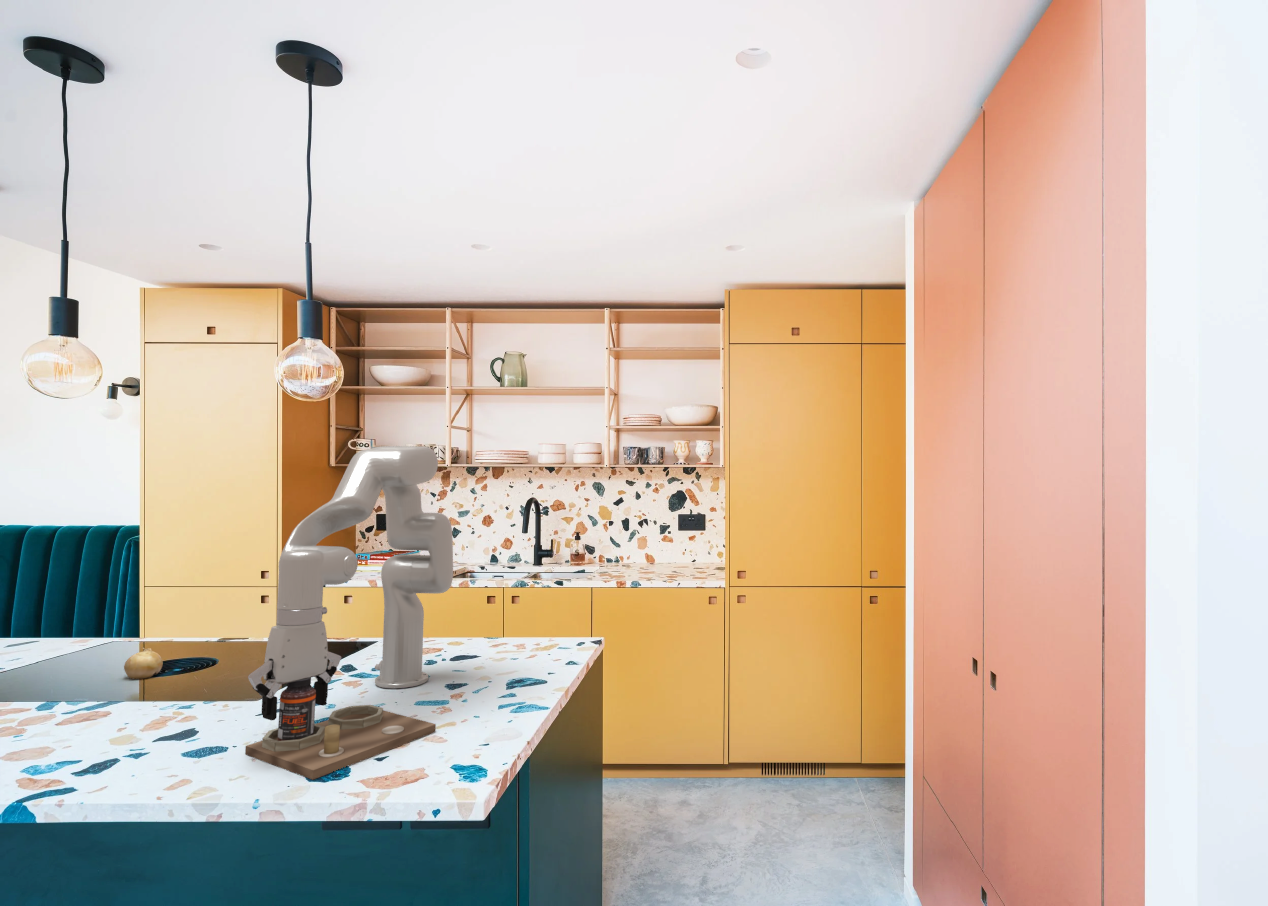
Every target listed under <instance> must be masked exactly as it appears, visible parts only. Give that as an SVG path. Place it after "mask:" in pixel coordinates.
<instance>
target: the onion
mask: <svg viewBox="0 0 1268 906" xmlns="http://www.w3.org/2000/svg"><path fill="white" fill-rule="evenodd" d="M141 648H142V650H143V651H139V652H136V653H134V654H133V655H130V657H129V658H128V659H126V661H125V662H124V665H123V670H124V673H125V674H126V675H127V678H129V680H141V679H150V678H151V677H153V676H154V675H155V676H156V675H157V674H159V673H160V671H161V670H162V668H163V664H164V663H163V662H164V660H163V658H162V657H161V655H160V654H159V653H158V652H155V651H153V650H152V648H151V647H150V648H149V647H148V648H145V647H141Z"/></svg>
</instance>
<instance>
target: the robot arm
mask: <svg viewBox="0 0 1268 906" xmlns="http://www.w3.org/2000/svg"><path fill="white" fill-rule="evenodd" d="M438 461H439V460H438V455H437V454H436V452H435V450H433V449H432V448H431V447H429V446H423V445H422V446H417V445H416V446H414V445H413V446H411V445H410V446H407V445H406V446H405V445H403V446H402V445H401V446H400V445H386V446H384V445H383V446H382V445H381V446H375V447H372V448H370V449H368V448H367V449H362V450H360V451H358V452H356V453H355V454H354V455H353V456H352V458H351V459H350V461H349V463H348V465H347V467H346V468H345V471H344V474H343V476H342V478H341V480H340V482H339V484H338V485H337V487H336V490H335V491H334V494H333V496H332V498H331V499H330V500H329V501H328V502H326V503H324V504H323V505H321V506H320V507H318V508H317V509H315V510H314V511H313V512H312V513H310V514H309V515H307V516H306V517H305V518H303V519H302V520H300V522H299V523H297V525H296V526H295V527H294V529H292V531H291V533H290V535H289V537H288V539H287V541H286V542H285V545H284V547H283V549H282V551H281V554H280V556H279V560H278V583H277V584H278V586H277V603H276V604H277V605H276V606H277V607H276V609H277V610H276V625H274V626H273V625H272V627H271V628H270V632H269V635H268V638H267V642H266V647H265V648H266V649H265V655H264V662H263V664H261V665H260V666H259V667H258V668H257V669H255V670H253V671H252V672H250V673H249V675H248V676H247V678H248V681H249V683H250V684H251V686H252V689H253V690H254V691H255V692H257V694H259V696H260V697H262V698H261V715H262V718H263V719H265V720H269V721H275V720H276V719H277V717H278V715H277V714H278V697H277V696H275V695H276V694H277V692H278V691H279V689H280V687H281V686H282V685H287V683H291V682H295V681H298V680H302V679H306V678H311V679H312V678H315V679H316V681H314V683H313V688H314V689H315V690H316V700H315V705H319V706H327V699H328V696H329V695H328V692H329V683H331V681H332V678H333V676H334V675H335V674H336V672H337V670H338V666H339V665H340V662H341V661H342V656H341V655H339V654H337V653H334V652H331V651H329V649H328V647H329V646H328V637H327V636H328V635H327V629H326V623H325V622H324V621H323V615H326V614H327V613H328V608H327V607H326V606H324V605H323V602H324V601H323V597H324V586H327V585H328V586H329V585H332V586H333V585H334V586H335V585H336V586H337V585H342V584H345V583H347V582H348V581H350V580H351V579H352V578H353V577H354V575H355V574H356V572H357V569H358V557H357V555H356V554H355V552H354V551H353V550H351V549H349V548H348V547H346V546H345V547H344V546H338V545H337V546H333V545H330V546H329V545H317V544H319V543H320V542H321V541H322V540H323V539H325V538H327V537H329V536H330V535H332V534H334V533H337V532H339V531H342V530H345V529H348V528H350V527H353V526H355V525H358V524H360V523H363V522H365V521H366V520H368V519H369V518H370V517H371V515H372V513H373V510H374V508H375V506H376V504H377V501H378V499H379V496H380V494H381V492H382V493H383V494H384V501H385V523H386V524H385V527H386V530H385V531H386V539H387V544H388V545H389V546H390V548H392V549H394V550H399V551H426V552H428V553H429V555H428V554H426V555H425V554H397V555H393V556H390V557H389V558H387V559H386V560H385V561H384V563H383V564H382V567H381V571H380V575H381V577H380V578H381V585H382V591H383V607H384V608H383V610H384V611H383V630H382V631H383V637H382V658H381V659H382V660H380V662H379V663H376V664H375V665H374V669H375V670H377V671H379V675H378V676H376V678H375V679H374V684H375V686H376V687H379V688H383V689H404V688H412V687H417V686H420V685H423V684H425V683H426V682H428V680H429V674H428V673H426V672H424V671H423V652H424V651H423V649H424V648H423V647H424V620H425V617H424V616H425V612H424V610H425V609H424V605H423V603H422V601H421V599H419V596H418V595H417V594H432V595H433V594H443V593H445V592H448V591H449V590H450V589H451V586H452V584H453V578H454V549H453V547H454V546H453V527H452V524H451V521H450V519H449V518H448V516H446V515H445V514H444V513H439V512H424V511H423V509H422V508H423V507H422V495H421V494H422V493H421V490H420V488H419V486H418V485H420V484H423V483H427V482H429V481H431V480H432V479H434V477H435V476H436V473H437V470H438V467H439V466H438V465H439V462H438ZM328 660H329V662H328ZM262 678H263V680H265V683H264V684H263V681H262Z"/></svg>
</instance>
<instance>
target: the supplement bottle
mask: <svg viewBox="0 0 1268 906" xmlns="http://www.w3.org/2000/svg"><path fill="white" fill-rule="evenodd" d="M311 683H312V677H311V678H306V679H302V680H298V681H295V682H291V683H286V688H285V689H283V690H282V691H281V693H280V695H279V708H278V710H279V711H278V727H277V728H278V741H286V740H299V739H302V738H305V737H308V736H311V735H314V723H315V715H316V713H315V711H316V704H315V700H316V690H315V689H314V686H312V684H311Z"/></svg>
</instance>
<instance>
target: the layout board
mask: <svg viewBox="0 0 1268 906" xmlns="http://www.w3.org/2000/svg"><path fill="white" fill-rule="evenodd" d="M436 729H437V728H436V723H432V722H429V721H425V720H422V719H418V718H415V717H410V716H405V715H402V714H399V713H395V712H391V711H387V710H384V707H381V706H376V705H373V704H364V705H363V704H362V705H350V706H345V707H343V708H339V709H336V710H333V711H332V712H331V713H330V715H329V716H328V719H327V720H324V721H321V722H317V723H315V722H314V735H311V736H308V737H305V738H302V739H299V740H286V741H278V727H276V728H272V729H271V730H268V731H267V732H266V733H265V735H264V736H263V737H262V740H260V741H256V742H254V743H250V744H246V745H245V752H244V754H245V756H249V757H251V758H253V759H256V760H259V761H262V762H264V763H267V764H270V765H271V766H272V765H273V766H275V767H278V768H280V769H283V770H285V769H286V771H288V770H289V771H288V772H291V773H293V772H294V773H293V774H296V773H297V775H299V774H300V775H299V776H302V777H305V778H307V779H310V780H316V779H318V778H321V777H323V776H327V775H329V774H332V773H333V771H334V772H336V770H337V771H339V770H341V768H342V769H344V768H346V766H347V767H349V766H352V765H354V764H357V763H359V762H362V761H365V760H367V759H369V758H372V757H375V756H377V755H380V754H383V753H385V752H388V751H390V750H393V749H395V748H397V747H400V746H403V745H406V744H408V743H410V742H413V741H416V740H419V739H421V738H423V737H426V736H428V735H430V734H431V735H432V734H433V733H436ZM351 764H352V765H351ZM348 765H349V766H348ZM343 767H344V768H343ZM338 769H339V770H338Z"/></svg>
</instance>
